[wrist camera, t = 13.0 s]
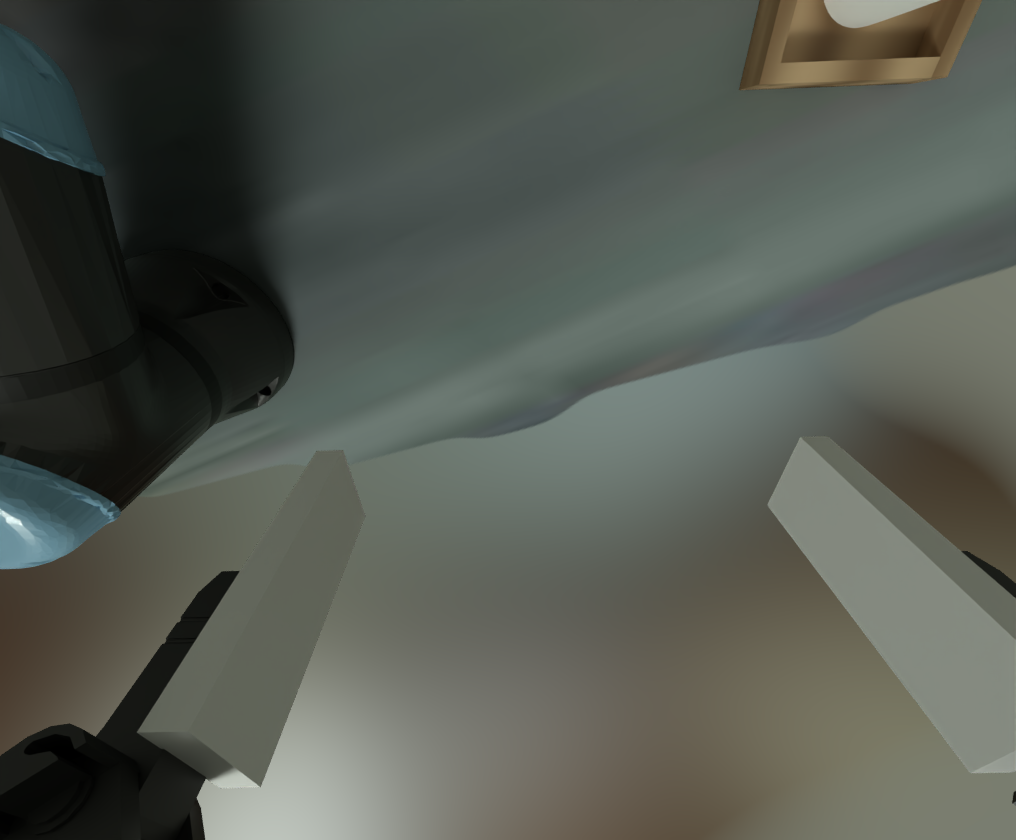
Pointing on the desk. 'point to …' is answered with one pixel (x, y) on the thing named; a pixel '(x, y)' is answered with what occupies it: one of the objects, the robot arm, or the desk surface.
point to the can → (869, 10)
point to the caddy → (852, 46)
